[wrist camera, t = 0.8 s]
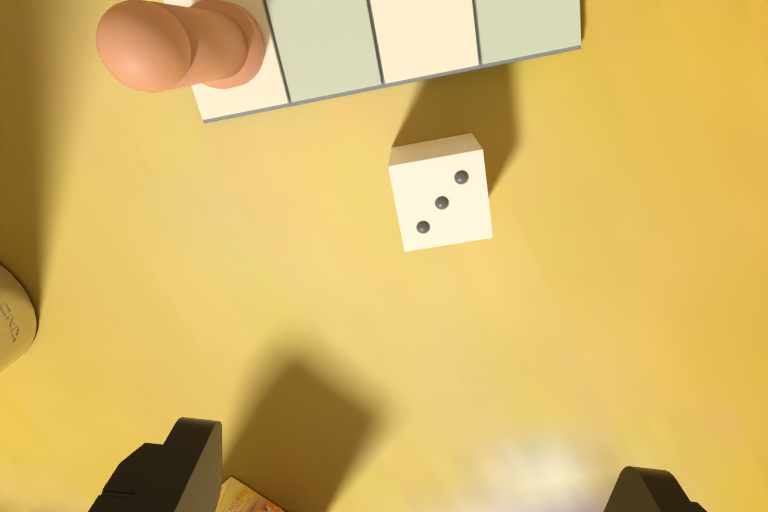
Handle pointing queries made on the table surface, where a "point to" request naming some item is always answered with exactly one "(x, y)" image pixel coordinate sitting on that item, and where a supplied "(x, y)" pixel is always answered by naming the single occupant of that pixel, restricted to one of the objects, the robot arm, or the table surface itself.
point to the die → (440, 192)
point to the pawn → (180, 45)
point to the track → (383, 46)
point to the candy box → (242, 499)
